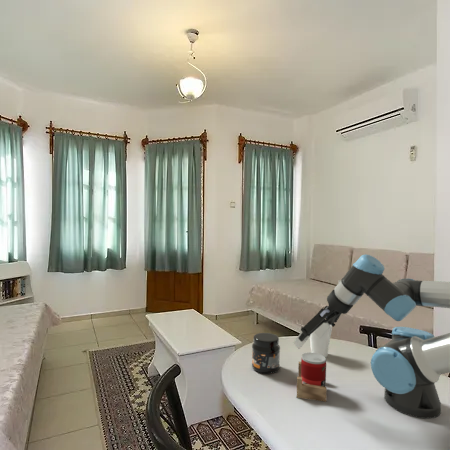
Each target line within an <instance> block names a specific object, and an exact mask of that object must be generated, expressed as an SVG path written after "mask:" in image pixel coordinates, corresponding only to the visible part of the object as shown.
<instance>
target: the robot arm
mask: <svg viewBox="0 0 450 450" xmlns="http://www.w3.org/2000/svg"><path fill="white" fill-rule="evenodd" d="M384 271H385V266H384V264H383V263H382V262H381V261H380V260H379V259H377V258H376V257H375V256H373V255H370V254H366V253H365V254H362V255H360V257H359V258H358V259H357V260H356V261H355V262H354V263H352V266H351V267H350V268H349V269H348V271H347V272H346V273H345V275H343V277H342V278H341V279H339V280H337V282H338V283H337V285H336V286H334V289H332V290H331V292H330V293H329V294H328V296H327V297H326V302H327V304H328V305H325V306H324V308H323V307H322V308H320V310H319V311H317V313H316V314H315V315H314V316H313V317H312V318H311V319H310V320H309V321H308V322H307V323H306V324H305V325H303V326H301V328H300V331H301V332H300V333H299V335H297V336H296V338H295V340H294V341H293V342H292V343H293V345H295V347H296V348H297V350H300V349H301V348H302V347H303V345H304V344H305V343H306V342H307V340H309V339H310V336H311V335H310V334H312V333H313V332H314V331H315V330H316V329H317V328H318V329H317V330H316V331H315V332H314V333H315V334H316V335H317V336H318V337H319V338H321V337H322V336H323V335H324V334H325V332H326V331H327V330H328V329H329V328H330V327H331V325H332V328H334V327H335V326H336V323H337V322H338V320H339V319H340V317H341V315H342V314H343V315H345V314H348V313H349V311H351V309H352V308H353V306H354V305H355V304H357V303H358V301H359V300H361V298H362V296H363V295H364V294H365V295H366V297H368V298H369V299H371V301H372V302H373V303H375V304H376V305H377V306H378V307H379V308H380V309H381V310H382V311H383V312H384V314H386V315H388V316H389V317H390V318H392V320H394V321H396V322H401V321H403V320H404V319H405V318H407V316H408V315H409V314H411V312H412V311H414V309H415V308H416V306H419V307H431V308H433V307H434V308H440V309H441V308H442V309H450V281H442V280H441V281H436V280H419V279H418V280H415V279H413V278H402V279H401V278H400V279H398V280H397V281H395V282H392V281H390V280H389V279H388V278H387V277H386V276H385V275H384V274H383V273H384ZM391 330H392V332H391V340H389V341H388V342H387V343H385V344H384V345H382V346H381V347H378V348H377V349H376V350H375V352H374V353H373V354H372V357H371V359H370V360H371V361H370V367H371V372H372V375H373V376H374V378H375V380H376V381H377V382H378V383H379V384H380V386H382V387H383V388H384V397H383V398H384V401H385V402H386V403H387V404H388V405H389V406H390V407H391V408H393V409H394V410H396V411H398V412H400V413H402V414H404V415H407V416H411V417H414V418H420V419H432V418H433V419H434V418H437V417H439V416H440V414H441V411H442V410H441V409H442V405H441V404H442V403H441V400H440V397H439V394H438V391H437V389H436V385H435V383H437V382H438V381H439V380H440V376H441V375H445V374H449V373H450V332H449V333H445V334H441V335H437V336H435V335H434V334H432V333H431V332H430V331H429V332H428V331H427V330H423V329H422V330H421V329H418V328H414V327H413V328H412V327H409V326H408V327H407V326H395V327H393V328H392V329H391Z"/></svg>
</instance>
